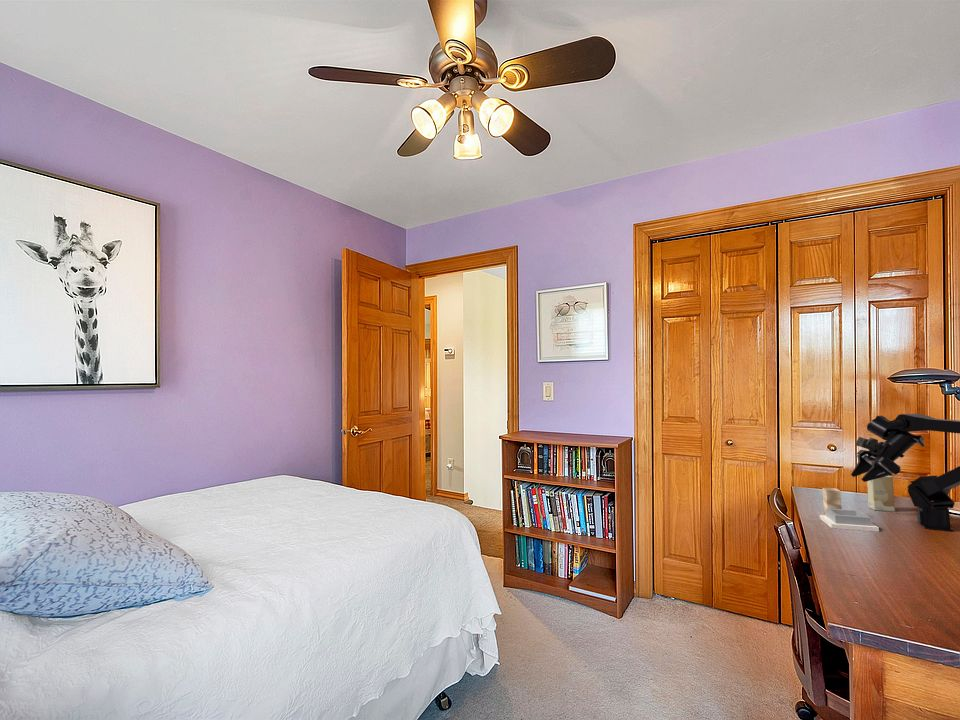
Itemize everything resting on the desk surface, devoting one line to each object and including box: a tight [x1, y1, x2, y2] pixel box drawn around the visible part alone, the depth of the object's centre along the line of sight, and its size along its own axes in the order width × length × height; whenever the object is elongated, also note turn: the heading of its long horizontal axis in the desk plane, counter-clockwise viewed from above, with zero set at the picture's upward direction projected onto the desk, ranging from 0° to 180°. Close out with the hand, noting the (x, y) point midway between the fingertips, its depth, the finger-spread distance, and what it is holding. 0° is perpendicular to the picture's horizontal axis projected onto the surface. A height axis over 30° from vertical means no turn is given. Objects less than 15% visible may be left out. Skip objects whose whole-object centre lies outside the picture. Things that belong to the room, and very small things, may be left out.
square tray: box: [819, 508, 880, 532], centre depth 148 cm, size 12×12×4 cm
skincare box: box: [866, 475, 896, 512], centre depth 165 cm, size 6×4×12 cm
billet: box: [822, 487, 843, 515], centre depth 159 cm, size 4×4×9 cm
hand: (857, 478), depth 157 cm, fingers open, 9 cm apart
